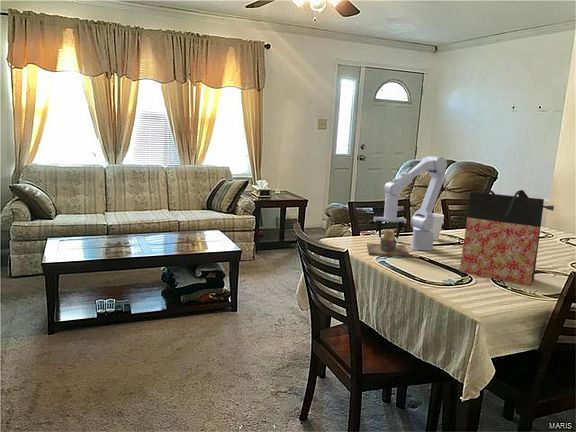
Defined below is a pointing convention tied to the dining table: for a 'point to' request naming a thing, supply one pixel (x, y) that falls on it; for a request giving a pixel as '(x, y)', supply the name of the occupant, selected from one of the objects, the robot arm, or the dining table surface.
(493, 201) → the gift bag
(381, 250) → the stand base
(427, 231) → the robot arm
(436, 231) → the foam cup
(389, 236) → the post
